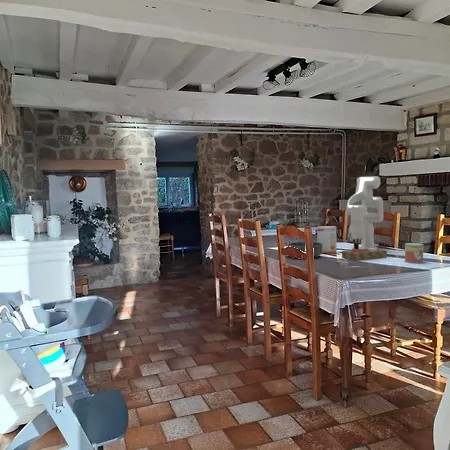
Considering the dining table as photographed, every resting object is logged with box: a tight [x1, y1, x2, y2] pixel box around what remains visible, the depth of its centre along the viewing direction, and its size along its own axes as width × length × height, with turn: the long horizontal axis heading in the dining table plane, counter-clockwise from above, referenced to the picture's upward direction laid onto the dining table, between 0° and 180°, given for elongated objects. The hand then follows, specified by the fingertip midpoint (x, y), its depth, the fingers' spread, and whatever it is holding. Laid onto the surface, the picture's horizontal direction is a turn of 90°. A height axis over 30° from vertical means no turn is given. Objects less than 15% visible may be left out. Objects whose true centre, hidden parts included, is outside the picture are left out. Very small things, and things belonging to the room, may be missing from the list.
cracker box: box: [316, 225, 338, 255], centre depth 322 cm, size 14×6×21 cm, turn 84°
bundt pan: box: [286, 241, 323, 258], centre depth 310 cm, size 26×26×10 cm
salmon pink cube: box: [351, 247, 361, 252], centre depth 296 cm, size 4×4×4 cm
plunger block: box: [341, 248, 388, 262], centre depth 299 cm, size 28×14×5 cm, turn 111°
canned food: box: [404, 242, 424, 264], centre depth 279 cm, size 11×11×12 cm
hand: (356, 248), depth 295 cm, fingers closed
